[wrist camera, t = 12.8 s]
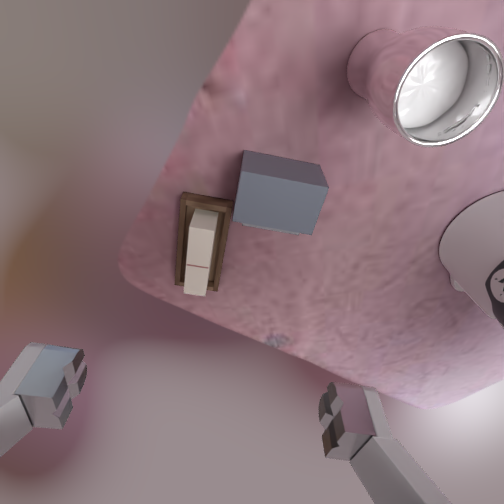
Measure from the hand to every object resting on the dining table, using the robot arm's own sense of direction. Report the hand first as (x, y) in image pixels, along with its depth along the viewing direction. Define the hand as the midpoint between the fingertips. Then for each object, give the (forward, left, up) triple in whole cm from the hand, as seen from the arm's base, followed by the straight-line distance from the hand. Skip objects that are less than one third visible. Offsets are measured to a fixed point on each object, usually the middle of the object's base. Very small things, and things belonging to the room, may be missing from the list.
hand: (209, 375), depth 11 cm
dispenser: (-5, +6, -31) cm, 32 cm away
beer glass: (-12, -8, -31) cm, 34 cm away
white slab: (+3, +17, -30) cm, 35 cm away
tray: (+3, +17, -31) cm, 36 cm away
